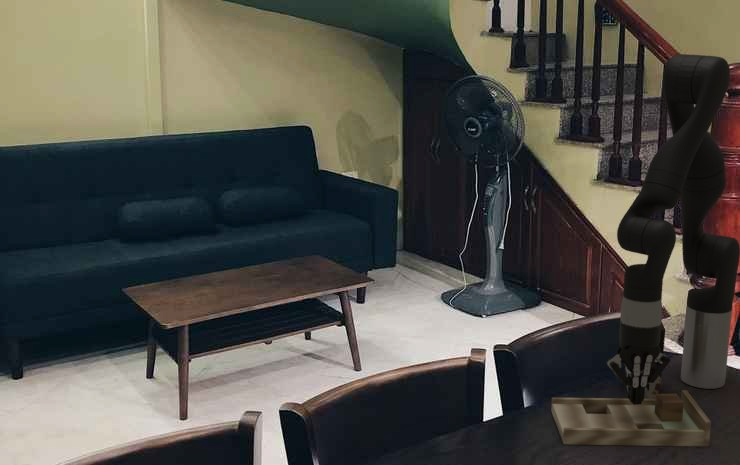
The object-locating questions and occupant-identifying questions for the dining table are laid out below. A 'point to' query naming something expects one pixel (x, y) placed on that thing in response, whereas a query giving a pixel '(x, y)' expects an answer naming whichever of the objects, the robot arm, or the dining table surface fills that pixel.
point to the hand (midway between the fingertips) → (635, 402)
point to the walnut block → (668, 407)
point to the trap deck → (628, 423)
